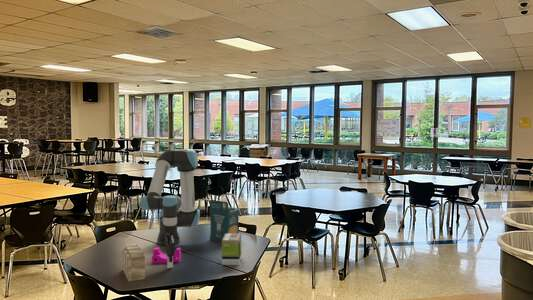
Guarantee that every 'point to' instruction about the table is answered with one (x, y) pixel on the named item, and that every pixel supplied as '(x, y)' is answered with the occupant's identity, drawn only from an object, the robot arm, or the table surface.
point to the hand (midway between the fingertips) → (170, 267)
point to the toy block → (165, 256)
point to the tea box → (231, 249)
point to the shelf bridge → (133, 262)
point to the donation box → (222, 220)
